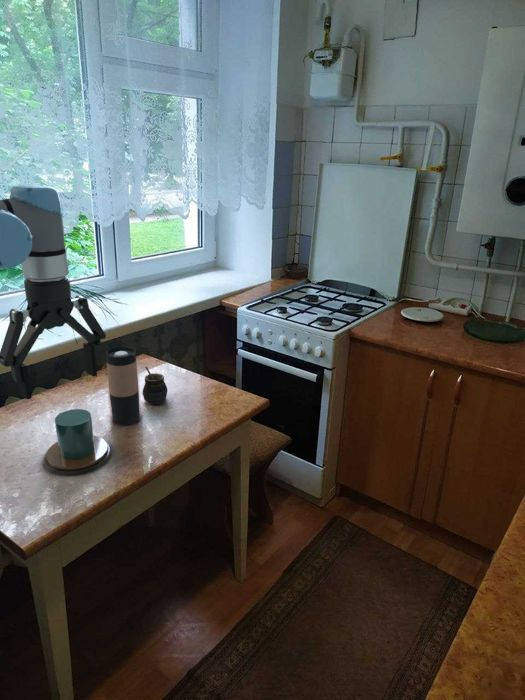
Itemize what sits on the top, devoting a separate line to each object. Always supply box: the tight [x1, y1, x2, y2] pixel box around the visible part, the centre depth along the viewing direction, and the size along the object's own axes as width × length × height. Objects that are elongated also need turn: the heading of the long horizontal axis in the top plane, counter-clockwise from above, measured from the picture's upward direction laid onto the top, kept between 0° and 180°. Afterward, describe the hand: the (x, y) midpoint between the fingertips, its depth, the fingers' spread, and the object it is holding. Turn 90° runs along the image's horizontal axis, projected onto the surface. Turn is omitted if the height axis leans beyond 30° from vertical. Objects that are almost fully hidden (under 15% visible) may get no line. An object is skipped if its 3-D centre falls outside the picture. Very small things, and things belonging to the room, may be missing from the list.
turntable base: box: [43, 441, 111, 476], centre depth 119 cm, size 15×15×1 cm
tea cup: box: [45, 408, 109, 470], centre depth 117 cm, size 14×14×10 cm
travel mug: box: [105, 346, 140, 426], centre depth 133 cm, size 8×8×20 cm
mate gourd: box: [142, 366, 168, 406], centre depth 145 cm, size 7×8×10 cm
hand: (60, 385), depth 96 cm, fingers open, 13 cm apart
